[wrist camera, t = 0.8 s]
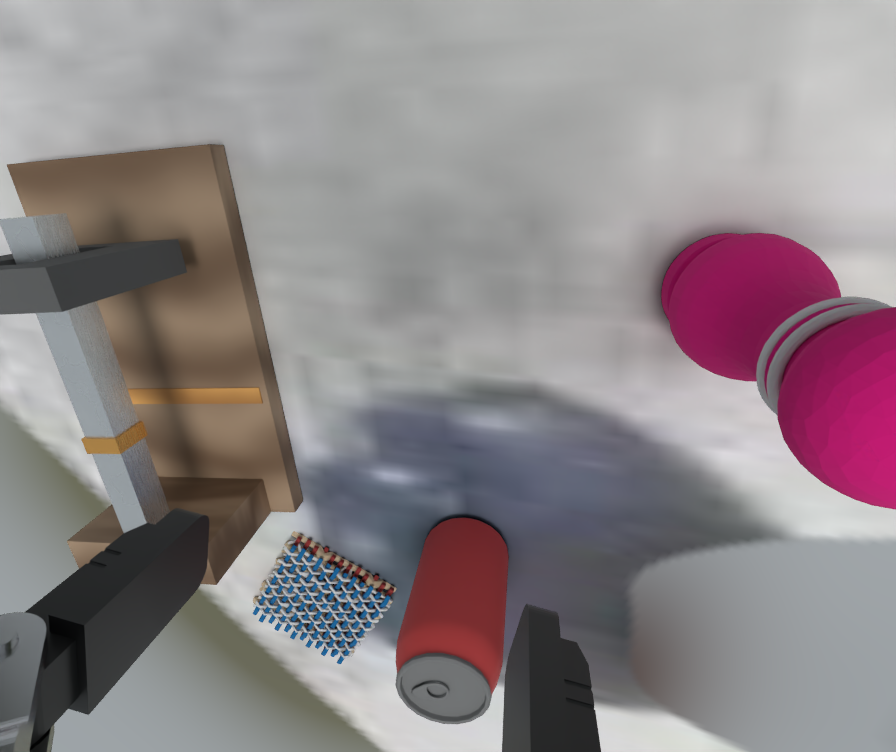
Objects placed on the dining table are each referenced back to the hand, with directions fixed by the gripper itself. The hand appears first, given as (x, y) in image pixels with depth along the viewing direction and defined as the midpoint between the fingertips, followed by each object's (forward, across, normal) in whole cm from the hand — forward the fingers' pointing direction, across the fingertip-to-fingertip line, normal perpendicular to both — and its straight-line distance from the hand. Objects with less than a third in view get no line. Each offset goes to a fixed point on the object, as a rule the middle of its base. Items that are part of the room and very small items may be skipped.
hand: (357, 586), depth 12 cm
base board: (+23, +20, +5) cm, 31 cm away
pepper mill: (+22, -14, -8) cm, 27 cm away
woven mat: (+25, +7, +25) cm, 36 cm away
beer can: (+24, -4, +16) cm, 29 cm away
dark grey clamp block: (+19, +22, -1) cm, 29 cm away
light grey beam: (+16, +20, +6) cm, 26 cm away
